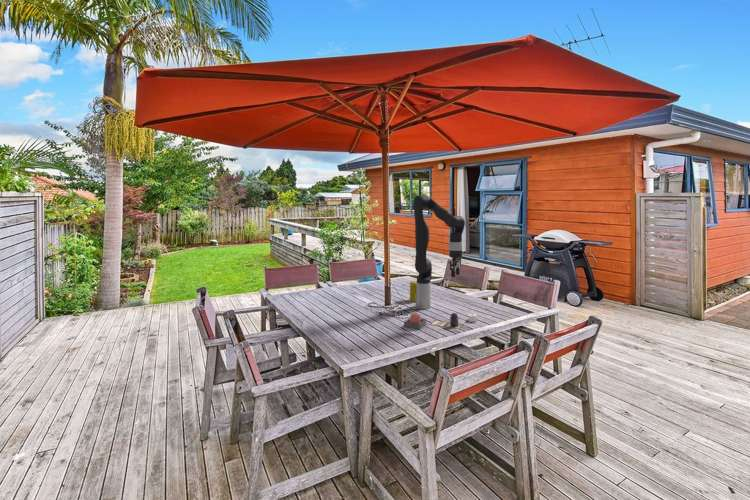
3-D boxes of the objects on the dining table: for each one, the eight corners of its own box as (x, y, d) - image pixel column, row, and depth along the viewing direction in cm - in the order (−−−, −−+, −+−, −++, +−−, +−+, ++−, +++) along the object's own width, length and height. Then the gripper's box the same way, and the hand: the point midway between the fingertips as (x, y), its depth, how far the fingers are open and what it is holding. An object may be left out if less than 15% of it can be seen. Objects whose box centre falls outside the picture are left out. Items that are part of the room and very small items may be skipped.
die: (468, 323, 217) (469, 315, 216) (468, 321, 221) (468, 313, 220) (476, 323, 216) (476, 316, 215) (476, 321, 220) (476, 313, 219)
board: (428, 326, 212) (428, 324, 212) (434, 321, 221) (434, 319, 221) (459, 331, 203) (459, 329, 203) (464, 326, 212) (464, 324, 211)
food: (408, 303, 267) (413, 301, 276) (424, 301, 262) (428, 298, 271) (404, 283, 267) (408, 281, 276) (419, 280, 262) (423, 278, 272)
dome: (407, 324, 210) (407, 313, 209) (412, 321, 215) (412, 311, 214) (418, 325, 206) (418, 315, 206) (422, 322, 212) (422, 312, 211)
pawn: (449, 326, 209) (449, 313, 208) (451, 323, 212) (451, 311, 211) (456, 327, 206) (456, 314, 205) (459, 325, 210) (459, 312, 209)
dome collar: (404, 328, 209) (403, 321, 209) (411, 323, 217) (411, 317, 217) (419, 331, 204) (419, 324, 204) (426, 326, 213) (426, 319, 212)
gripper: (458, 251, 215) (457, 278, 217) (465, 248, 227) (465, 274, 229) (445, 250, 218) (445, 277, 220) (453, 247, 231) (453, 273, 233)
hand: (455, 275), depth 225 cm, fingers open, 8 cm apart
